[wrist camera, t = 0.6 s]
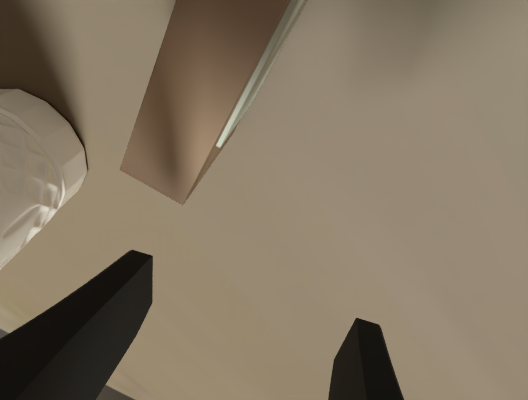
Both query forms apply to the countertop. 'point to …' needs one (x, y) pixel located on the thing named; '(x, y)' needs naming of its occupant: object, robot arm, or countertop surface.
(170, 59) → the picture frame
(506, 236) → the countertop surface
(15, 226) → the white cup
